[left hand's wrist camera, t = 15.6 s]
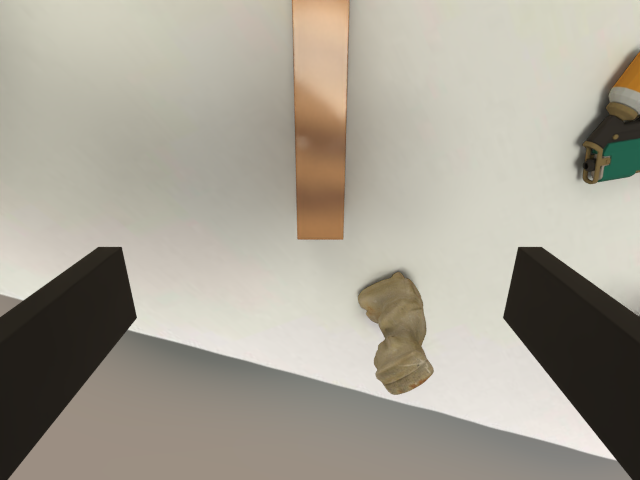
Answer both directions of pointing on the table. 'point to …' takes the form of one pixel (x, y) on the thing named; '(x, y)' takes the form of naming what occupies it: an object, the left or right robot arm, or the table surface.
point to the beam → (320, 115)
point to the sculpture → (398, 333)
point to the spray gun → (617, 132)
